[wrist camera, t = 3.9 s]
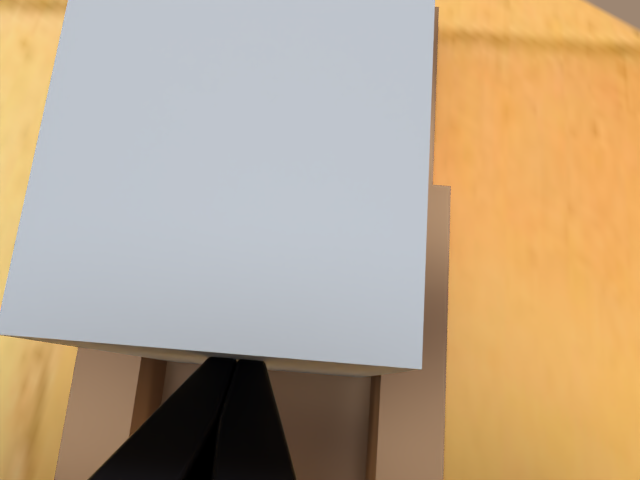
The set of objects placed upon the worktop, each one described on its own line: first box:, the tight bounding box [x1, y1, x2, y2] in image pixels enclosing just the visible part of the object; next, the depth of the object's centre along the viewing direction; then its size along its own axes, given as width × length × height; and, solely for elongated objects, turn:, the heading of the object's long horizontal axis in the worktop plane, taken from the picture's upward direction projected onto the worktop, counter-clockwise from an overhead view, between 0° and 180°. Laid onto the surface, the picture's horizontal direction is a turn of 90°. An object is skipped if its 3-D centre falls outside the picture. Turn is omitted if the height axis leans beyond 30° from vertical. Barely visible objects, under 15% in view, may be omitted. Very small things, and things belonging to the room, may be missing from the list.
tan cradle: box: [54, 7, 451, 480], centre depth 16 cm, size 15×9×3 cm, turn 175°
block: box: [0, 0, 435, 378], centre depth 12 cm, size 5×5×9 cm
